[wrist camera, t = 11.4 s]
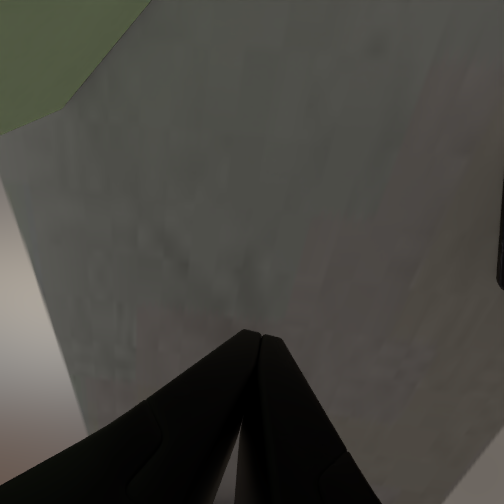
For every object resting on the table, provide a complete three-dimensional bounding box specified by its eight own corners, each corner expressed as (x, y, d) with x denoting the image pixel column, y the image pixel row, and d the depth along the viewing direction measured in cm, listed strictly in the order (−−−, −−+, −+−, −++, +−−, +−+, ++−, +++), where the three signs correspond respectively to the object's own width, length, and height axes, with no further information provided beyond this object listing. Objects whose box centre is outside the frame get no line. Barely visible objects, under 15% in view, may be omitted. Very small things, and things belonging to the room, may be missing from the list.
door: (216, -118, 16) (-56, -368, 5) (231, -97, 16) (5, -292, 5) (48, 96, 21) (-285, 217, 10) (61, 109, 21) (-248, 243, 10)
